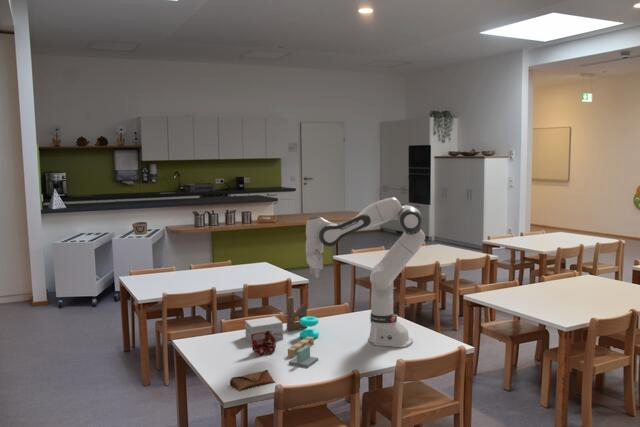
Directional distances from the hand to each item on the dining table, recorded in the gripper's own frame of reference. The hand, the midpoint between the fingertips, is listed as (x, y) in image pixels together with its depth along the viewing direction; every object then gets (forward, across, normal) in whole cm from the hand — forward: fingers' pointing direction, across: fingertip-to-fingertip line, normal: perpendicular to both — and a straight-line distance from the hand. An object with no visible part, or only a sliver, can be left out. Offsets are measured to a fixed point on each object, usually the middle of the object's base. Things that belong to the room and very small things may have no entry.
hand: (314, 275), depth 292 cm
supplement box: (+35, +12, +24) cm, 44 cm away
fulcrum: (+34, -29, +13) cm, 47 cm away
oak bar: (+34, -13, +10) cm, 38 cm away
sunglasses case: (+35, -47, +38) cm, 70 cm away
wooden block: (+34, +22, +4) cm, 41 cm away
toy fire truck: (+35, -10, +28) cm, 46 cm away
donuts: (+34, +6, +1) cm, 35 cm away
